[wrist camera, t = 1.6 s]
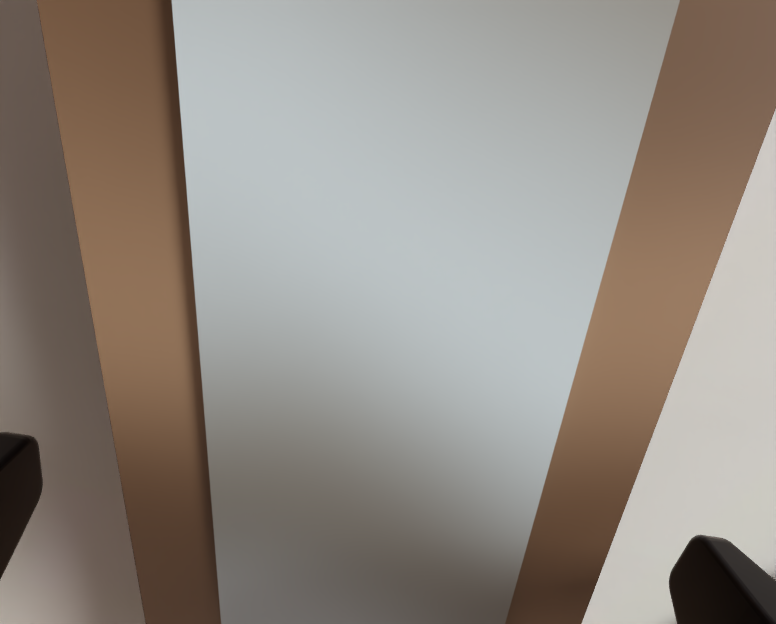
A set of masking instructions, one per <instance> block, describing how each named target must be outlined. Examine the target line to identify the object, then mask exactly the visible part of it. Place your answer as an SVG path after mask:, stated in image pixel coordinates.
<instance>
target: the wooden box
mask: <svg viewBox="0 0 776 624" xmlns="http://www.w3.org/2000/svg"><path fill="white" fill-rule="evenodd" d="M37 5H38V10H39V16H40V22H41V27H42V33H43V39H44V45H45V50H46V56H47V62H48V67H49V73H50V79H51V85H52V90H53V96H54V102H55V107H56V113H57V119H58V125H59V130H60V136H61V142H62V147H63V153H64V159H65V165H66V170H67V176H68V182H69V187H70V193H71V199H72V205H73V210H74V216H75V222H76V227H77V233H78V239H79V245H80V250H81V256H82V262H83V267H84V273H85V279H86V285H87V290H88V296H89V302H90V307H91V313H92V319H93V325H94V330H95V336H96V342H97V347H98V353H99V359H100V365H101V370H102V376H103V382H104V387H105V393H106V399H107V405H108V410H109V416H110V422H111V427H112V433H113V439H114V445H115V450H116V456H117V462H118V467H119V473H120V479H121V485H122V490H123V496H124V502H125V507H126V513H127V519H128V525H129V530H130V536H131V542H132V547H133V553H134V559H135V565H136V570H137V576H138V582H139V587H140V593H141V599H142V605H143V610H144V616H145V622H146V624H581V623H582V620H583V618H584V615H585V612H586V610H587V607H588V604H589V602H590V599H591V596H592V594H593V591H594V589H595V586H596V583H597V581H598V578H599V575H600V573H601V570H602V567H603V565H604V562H605V559H606V557H607V554H608V551H609V549H610V546H611V543H612V541H613V538H614V536H615V533H616V530H617V528H618V525H619V522H620V520H621V517H622V514H623V512H624V509H625V506H626V504H627V501H628V498H629V496H630V493H631V490H632V488H633V485H634V482H635V480H636V477H637V475H638V472H639V469H640V467H641V464H642V461H643V459H644V456H645V453H646V451H647V448H648V445H649V443H650V440H651V437H652V435H653V432H654V429H655V427H656V424H657V421H658V419H659V416H660V414H661V411H662V408H663V406H664V403H665V400H666V398H667V395H668V392H669V390H670V387H671V384H672V382H673V379H674V376H675V374H676V371H677V368H678V366H679V363H680V361H681V358H682V355H683V353H684V350H685V347H686V345H687V342H688V339H689V337H690V334H691V331H692V329H693V326H694V323H695V321H696V318H697V315H698V313H699V310H700V307H701V305H702V302H703V300H704V297H705V294H706V292H707V289H708V286H709V284H710V281H711V278H712V276H713V273H714V270H715V268H716V265H717V262H718V260H719V257H720V254H721V252H722V249H723V246H724V244H725V241H726V239H727V236H728V233H729V231H730V228H731V225H732V223H733V220H734V217H735V215H736V212H737V209H738V207H739V204H740V201H741V199H742V196H743V193H744V191H745V188H746V185H747V183H748V180H749V178H750V175H751V172H752V170H753V167H754V164H755V162H756V159H757V156H758V154H759V151H760V148H761V146H762V143H763V140H764V138H765V135H766V132H767V130H768V127H769V125H770V122H771V119H772V117H773V114H774V111H775V109H776V0H37Z"/></svg>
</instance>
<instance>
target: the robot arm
mask: <svg viewBox="0 0 776 624" xmlns="http://www.w3.org/2000/svg"><path fill="white" fill-rule="evenodd" d="M42 486H43V479H42V471H41V463H40V454H39V446H38V442H37V440H36V439H35V438H34V437H32V436H29V435H22V434H15V433H8V432H2V433H0V579H1V577H2V575H3V573H4V571H5V569H6V567H7V565H8V563H9V561H10V559H11V557H12V555H13V552H14V550H15V548H16V546H17V544H18V542H19V540H20V538H21V536H22V534H23V532H24V530H25V528H26V526H27V524H28V522H29V520H30V518H31V515H32V513H33V511H34V509H35V507H36V505H37V503H38V501H39V498H40V495H41V492H42ZM669 589H670V594H671V599H672V603H673V607H674V612H675V616H676V621H677V624H776V581H775V580H774V579H773V578H772V577H771V576H770V575H768V574H767V573H766V572H765V571H764V570H763V569H761V568H760V567H759V566H758V565H757V564H755V563H754V562H753V561H752V560H751V559H750V558H748V557H747V556H746V555H745V554H744V553H743V552H741V551H740V550H739V549H738V548H737V547H736V546H734V545H733V544H732V543H731V542H729V541H728V540H726V539H723V538H718V537H712V536H705V535H697V536H695V537H693V538H692V539H691V540H690V541H689V543H688V545H687V546H686V548H685V549H684V551H683V553H682V554H681V556H680V558H679V559H678V561H677V562H676V564H675V566H674V567H673V569H672V571H671V574H670V578H669Z"/></svg>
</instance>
